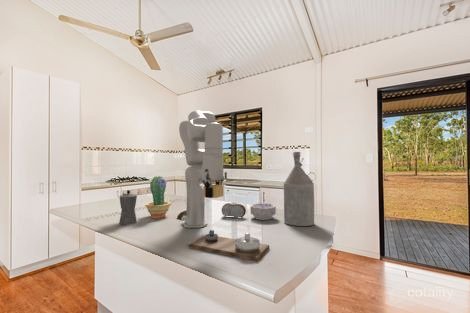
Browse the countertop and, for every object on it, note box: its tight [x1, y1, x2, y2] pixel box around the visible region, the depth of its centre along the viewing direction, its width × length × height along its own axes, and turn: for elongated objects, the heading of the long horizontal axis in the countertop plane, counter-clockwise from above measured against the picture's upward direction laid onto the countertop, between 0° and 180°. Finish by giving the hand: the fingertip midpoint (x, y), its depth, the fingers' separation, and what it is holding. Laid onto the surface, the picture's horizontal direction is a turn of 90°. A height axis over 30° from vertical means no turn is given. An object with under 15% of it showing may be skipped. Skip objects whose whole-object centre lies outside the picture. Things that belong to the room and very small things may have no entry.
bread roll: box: [176, 209, 187, 221], centre depth 140 cm, size 13×12×5 cm
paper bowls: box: [249, 202, 277, 221], centre depth 139 cm, size 15×15×8 cm
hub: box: [235, 232, 260, 254], centre depth 86 cm, size 9×9×6 cm
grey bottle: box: [283, 151, 317, 227], centre depth 128 cm, size 13×17×40 cm
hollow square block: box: [202, 184, 225, 199], centre depth 95 cm, size 6×6×4 cm
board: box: [188, 234, 270, 263], centre depth 91 cm, size 29×13×2 cm, turn 63°
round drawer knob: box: [205, 229, 218, 242], centre depth 95 cm, size 5×5×4 cm
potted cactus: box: [144, 175, 172, 219], centre depth 144 cm, size 15×15×25 cm
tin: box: [221, 202, 247, 218], centre depth 141 cm, size 15×3×8 cm, turn 74°
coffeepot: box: [118, 189, 138, 226], centre depth 129 cm, size 15×9×18 cm, turn 44°
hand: (213, 196), depth 95 cm, fingers closed on hollow square block, 5 cm apart
